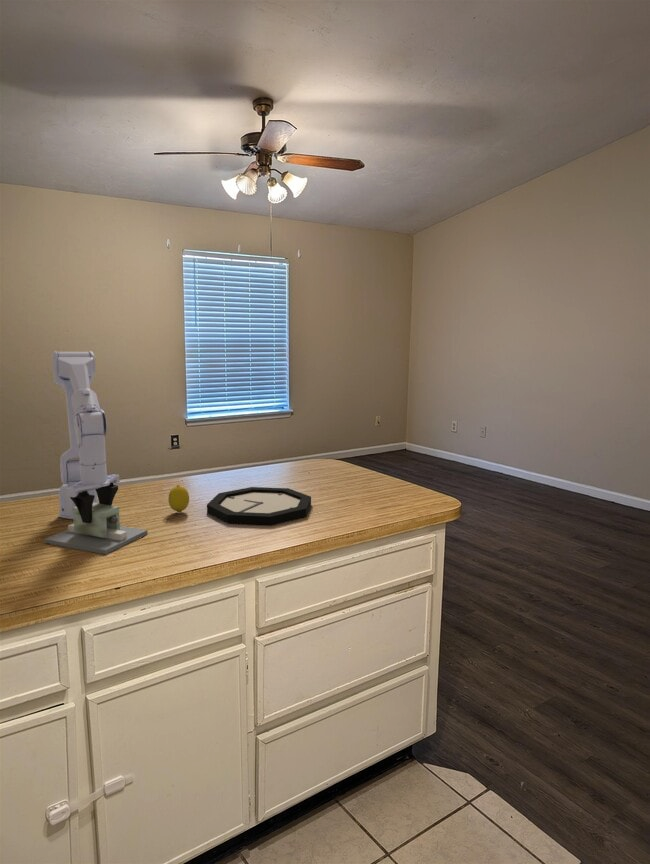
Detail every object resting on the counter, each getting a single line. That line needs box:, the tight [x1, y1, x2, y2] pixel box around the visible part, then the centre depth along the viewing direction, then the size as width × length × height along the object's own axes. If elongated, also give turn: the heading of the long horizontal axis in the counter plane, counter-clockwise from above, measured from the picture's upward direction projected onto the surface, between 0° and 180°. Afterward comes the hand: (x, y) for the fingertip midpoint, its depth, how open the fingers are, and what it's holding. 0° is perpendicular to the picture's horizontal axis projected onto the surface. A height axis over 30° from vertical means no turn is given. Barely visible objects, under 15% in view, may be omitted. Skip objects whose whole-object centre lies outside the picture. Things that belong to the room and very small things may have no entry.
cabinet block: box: [72, 502, 121, 538], centre depth 127 cm, size 10×5×6 cm, turn 69°
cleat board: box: [44, 522, 148, 555], centre depth 127 cm, size 18×14×2 cm
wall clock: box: [206, 486, 312, 527], centre depth 152 cm, size 30×3×30 cm
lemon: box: [168, 484, 190, 514], centre depth 147 cm, size 6×6×8 cm
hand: (96, 518), depth 127 cm, fingers closed on cabinet block, 5 cm apart
